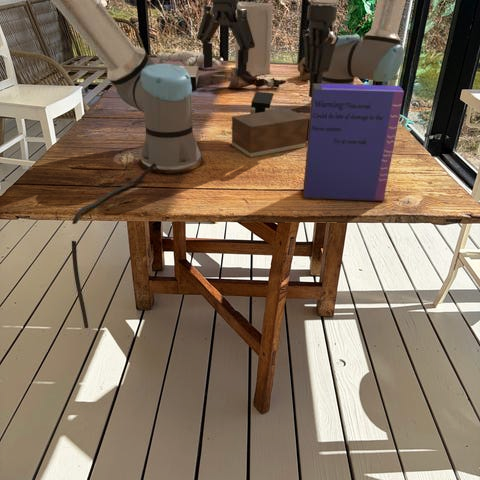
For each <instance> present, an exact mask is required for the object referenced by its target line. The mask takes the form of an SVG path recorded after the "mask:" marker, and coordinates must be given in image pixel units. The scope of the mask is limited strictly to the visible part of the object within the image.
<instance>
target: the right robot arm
mask: <svg viewBox="0 0 480 480" xmlns="http://www.w3.org/2000/svg"><path fill="white" fill-rule="evenodd" d="M406 1H407V0H377V1H376V6H375V11H374V15H373V19H372V23H371V26H370V27H371V28H370V29H369V31H368V32H366V33H365V34H364V37H363V40H361V36H360V35H359V34H344V35H342V34H341V35H335V34H334V26H333V23H334V22H335V21H336V20H337V13H338V6H337V3H338V2H339V0H307V2H308V3H310V4H308V5H307V15H306V20H307V21H309V24H308V28H307V29H305V30H302V31H301V32H302V38H303V46H304V48H303V49H304V57H305V67H306V68H308V69H309V71H310V79H308V80H309V88H308V89H309V90H308V97H309V98H312V87H313V84H348V85H355V84H354V83H355V79H356V78H357V79H362V80H369V81H373V82H384V83H386V82H389V81H391V80H393V79H394V77H395V76H396V75H397V73H398V72H399V71H400V68H401V66H402V63H403V60H404V56H405V55H404V54H405V49H404V47H403V46H402V45H401V41H402V40H401V37H400V36H399V29H400V26H401V21H402V19H403V18H402V17H403V13H404V10H405V5H406ZM309 63H310V64H309Z"/></svg>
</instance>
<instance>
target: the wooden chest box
mask: <svg viewBox="0 0 480 480" xmlns="http://www.w3.org/2000/svg"><path fill="white" fill-rule="evenodd" d="M294 111H295V110H291V109H289V108H279V109H275V110H273V109H272V110H271V111H266V112H259V113H252V114H250V113H247V114H240V115H239V114H238V115H233V116H231V146H232V147H234V148H236V149H237V150H239V151H241V152H242V153H243V154H245V155H246V156H248V157H249V158H253V157H258V156H263V155H269V154H273V153H278V152H284V151H289V150H295V149H300V148H305V147H306V148H307V141H306V139H307V128H308V118H307V117H308V116H307V117H305V116H306V115H305V116H303V115H304V114H302V115H300V114H301V113H300V114H298V113H299V112H298V113H296V112H297V111H296V112H294Z"/></svg>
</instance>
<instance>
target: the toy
mask: <svg viewBox="0 0 480 480" xmlns="http://www.w3.org/2000/svg"><path fill="white" fill-rule="evenodd" d="M165 62H180V63H182V64H184V65H183V66H193V65H194V64H196V66H198V68H200V69H201V68H204V55H203V51H199V52H198V53H197V52H194V51H191V50H185V51H179V52H174V53H171V52H168V51H167V52H164V51H160V52H157V53H156V62H155V64H165ZM212 64H215V65H216V66H218V67H220V66H222V63H221V62H220V61H219V60H218V59H217V58H212Z"/></svg>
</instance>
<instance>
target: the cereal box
mask: <svg viewBox="0 0 480 480" xmlns="http://www.w3.org/2000/svg"><path fill="white" fill-rule="evenodd" d="M404 94H405V91H404V90H403V88H402V87H401V86H399V85H380V84H379V85H377V84H376V85H375V84H354V85H348V84H313V87H312V98H311V97H310V98H311V99H310V109H309V115H310V120H309V131H308V141H306V153H305V154H306V155H305V165H304V177H303V188H302V189H303V190H302V191H303V197H304V199H317V200H343V201H344V200H345V201H346V200H347V201H366V202H367V201H368V202H369V201H370V202H384V201H385V195H386V190H387V184H388V178H389V174H390V168H391V164H392V158H393V152H394V147H395V142H396V136H397V132H398V126H399V120H400V115H401V111H402V104H403V100H404V99H403V98H404Z"/></svg>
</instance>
